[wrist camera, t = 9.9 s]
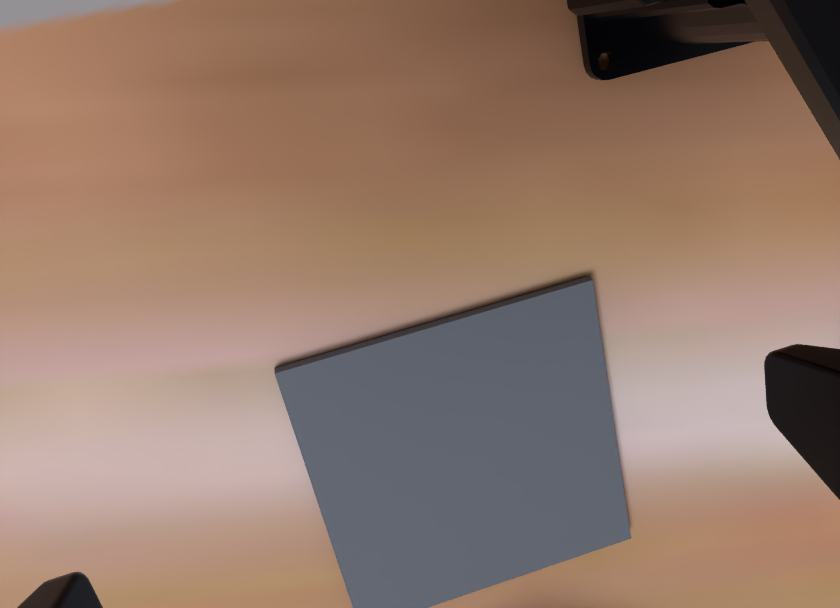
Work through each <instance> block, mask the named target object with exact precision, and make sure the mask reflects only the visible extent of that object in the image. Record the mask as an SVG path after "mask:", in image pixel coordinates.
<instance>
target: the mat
mask: <svg viewBox="0 0 840 608" xmlns="http://www.w3.org/2000/svg"><path fill="white" fill-rule="evenodd" d="M275 376H276V379H277V382H278V385H279V388H280V391H281V394H282V397H283V400H284V403H285V406H286V409H287V412H288V415H289V418H290V421H291V424H292V427H293V430H294V433H295V435H296V438H297V441H298V444H299V447H300V450H301V453H302V456H303V459H304V462H305V465H306V468H307V471H308V474H309V477H310V480H311V483H312V486H313V489H314V492H315V495H316V498H317V501H318V504H319V507H320V510H321V513H322V516H323V519H324V522H325V525H326V528H327V531H328V534H329V537H330V540H331V543H332V546H333V549H334V552H335V555H336V558H337V561H338V564H339V567H340V570H341V573H342V576H343V579H344V582H345V585H346V588H347V591H348V594H349V597H350V600H351V603H352V606H353V608H428V607H431V606H434V605H437V604H440V603H442V602H445V601H448V600H451V599H454V598H457V597H460V596H463V595H466V594H469V593H472V592H475V591H478V590H481V589H484V588H487V587H489V586H492V585H495V584H498V583H501V582H504V581H507V580H510V579H513V578H516V577H519V576H522V575H525V574H528V573H531V572H534V571H536V570H539V569H542V568H545V567H548V566H551V565H554V564H557V563H560V562H563V561H566V560H569V559H572V558H575V557H578V556H580V555H583V554H586V553H589V552H592V551H595V550H598V549H601V548H604V547H607V546H610V545H613V544H616V543H619V542H622V541H625V540H627V539H630V538H631V534H630V527H629V520H628V514H627V507H626V500H625V494H624V487H623V480H622V473H621V467H620V460H619V453H618V447H617V440H616V433H615V426H614V420H613V413H612V406H611V400H610V393H609V386H608V380H607V373H606V366H605V359H604V353H603V346H602V339H601V333H600V326H599V319H598V312H597V306H596V299H595V292H594V286H593V280H592V279H590V278H589V277H583V278H580V279H577V280H573V281H570V282H566V283H563V284H560V285H556V286H553V287H549V288H546V289H543V290H539V291H536V292H532V293H529V294H525V295H522V296H519V297H515V298H512V299H508V300H505V301H502V302H498V303H495V304H491V305H488V306H485V307H481V308H478V309H474V310H471V311H468V312H464V313H461V314H457V315H454V316H451V317H447V318H444V319H440V320H437V321H434V322H430V323H427V324H423V325H420V326H417V327H413V328H410V329H406V330H403V331H400V332H396V333H393V334H389V335H386V336H383V337H379V338H376V339H372V340H369V341H366V342H362V343H359V344H355V345H352V346H349V347H345V348H342V349H338V350H335V351H332V352H328V353H325V354H321V355H318V356H314V357H311V358H308V359H304V360H301V361H297V362H294V363H291V364H287V365H284V366H280V367H277V368H275Z"/></svg>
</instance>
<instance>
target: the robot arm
mask: <svg viewBox="0 0 840 608" xmlns="http://www.w3.org/2000/svg"><path fill="white" fill-rule="evenodd" d="M567 4H568V8H569V10H571V11H572V12H573V13H574V14H575V15H577V19H578V27H579V34H580V41H581V48H582V56H583V63H584V67H585V70H586V73H587V74H588V75H589V76H590V77H591V78H594V79H596V80H610V79H614V78H618V77H621V76H625V75H629V74H633V73H637V72H641V71H644V70H648V69H652V68H656V67H660V66H663V65H667V64H671V63H675V62H679V61H683V60H686V59H690V58H694V57H698V56H702V55H705V54H709V53H713V52H717V51H721V50H725V49H728V48H732V47H736V46H740V45H744V44H748V43H751V42H755V41H769V42H770V44H771V45H772V47H773V49H774V50H775V52H776V54H777V55H778V57H779V59H780V60H781V62H782V64H783V65H784V67H785V69H786V70H787V72H788V74H789V75H790V77H791V79H792V80H793V82H794V84H795V85H796V87H797V89H798V90H799V92H800V94H801V96H802V97H803V99H804V101H805V102H806V104H807V106H808V107H809V109H810V111H811V112H812V114H813V116H814V117H815V119H816V121H817V122H818V124H819V126H820V127H821V129H822V131H823V132H824V134H825V136H826V137H827V139H828V141H829V142H830V144H831V146H832V147H833V149H834V151H835V152H836V154H837V156H838V157H839V159H840V0H567ZM602 53H606V54H607V55H608V58H609V63H608V66H607V67H606V68H605V69H604V70H602V69H600V68H599V65H598V58H599V57H600V55H601V54H602ZM764 369H765V385H766V402H767V410H768V413H769V416H770V418H771V420H772V422H773V423H774V425H775V426H776V427H777V429H778V430H779V431H780V432H781V433H782V434H783V435H784V437H785V438H786V439H787V440H788V441H789V442H790V443H791V445H792V446H793V447H794V448H795V449H796V450H797V452H798V453H799V454H800V455H801V456H802V457H803V458H804V460H805V461H806V462H807V463H808V464H809V465H810V467H811V468H812V469H813V470H814V471H815V472H816V473H817V475H818V476H819V477H820V478H821V479H822V480H823V481H824V483H825V484H826V485H827V486H828V487H829V488H830V490H831V491H832V492H833V493H834V494H835V495H836V496H837V497H838V499H839V500H840V349H834V348H826V347H818V346H810V345H802V344H796V345H791V346H788V347H784V348H781V349H778V350H775V351H772V352H770V353H769V354H768V355H767V356H766V359H765V363H764ZM17 608H103V607H102V605H101V603H100V601H99V599H98V597H97V595H96V593H95V591H94V589H93V587H92V585H91V583H90V581H89V579H88V578H87V577H86V576H85V575H84V574H83V573H81V572H73V573H70V574H66V575H63V576H60V577H57V578H54V579H51V580H48V581H46V582H44V583H43V584H42V585H41V586H39V587H38V588H37V589H36V590H35V591H34V592H33V593H32V594H31V595H30V596H29V597H28V598H27V599H26V600H25V601H24V602H23V603H21V604H20V605H19V606H18V607H17Z"/></svg>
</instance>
